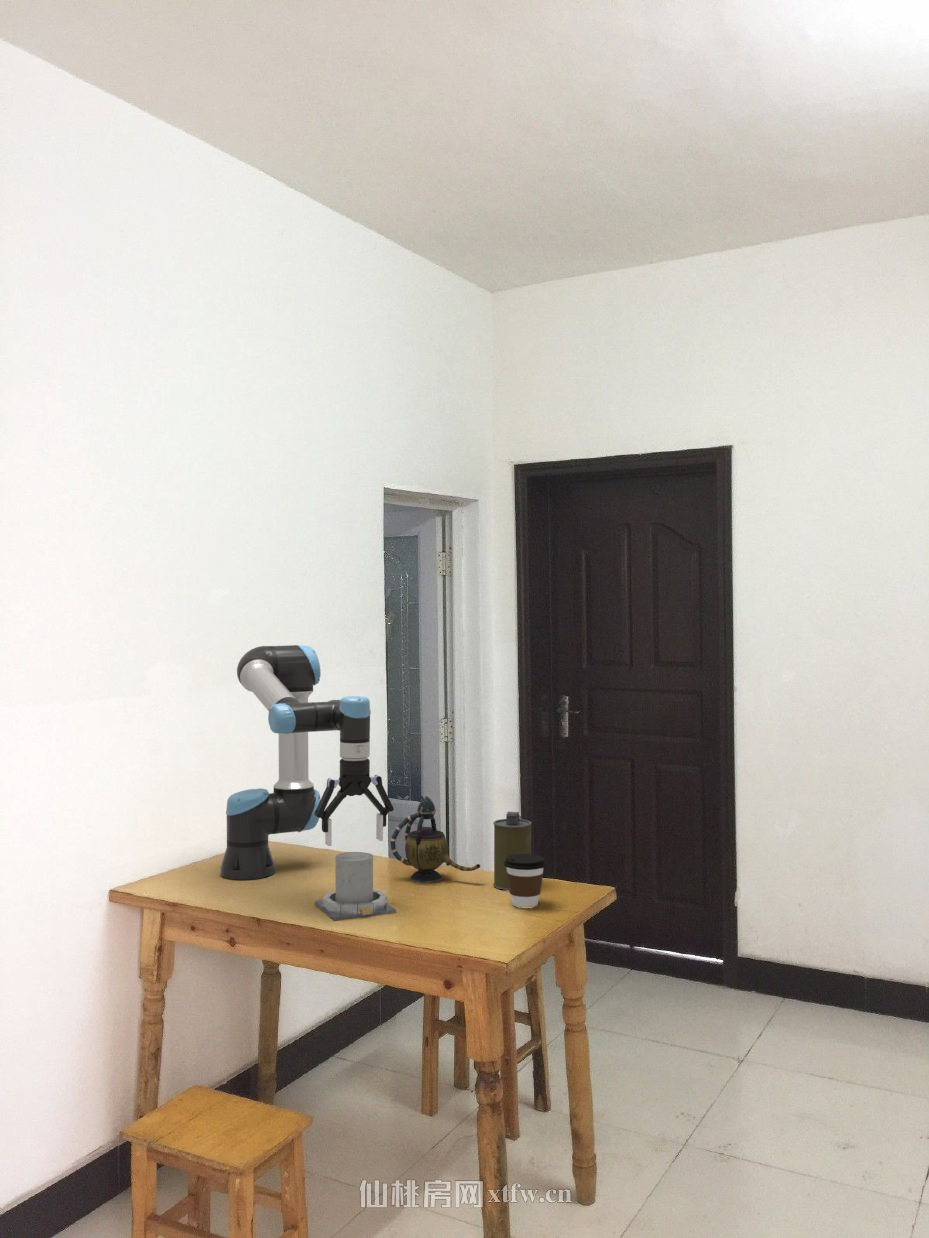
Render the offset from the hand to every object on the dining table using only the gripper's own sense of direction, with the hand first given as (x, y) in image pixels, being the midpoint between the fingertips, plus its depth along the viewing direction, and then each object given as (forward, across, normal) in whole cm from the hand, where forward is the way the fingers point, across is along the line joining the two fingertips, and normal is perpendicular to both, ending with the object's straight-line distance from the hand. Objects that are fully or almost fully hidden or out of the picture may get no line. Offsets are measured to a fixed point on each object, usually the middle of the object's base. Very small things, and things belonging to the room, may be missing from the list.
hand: (354, 842), depth 265 cm
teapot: (+17, +30, +15) cm, 38 cm away
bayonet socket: (+17, 0, -1) cm, 17 cm away
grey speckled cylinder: (+16, 0, -1) cm, 16 cm away
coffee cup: (+16, +40, -17) cm, 46 cm away
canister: (+17, +46, +1) cm, 49 cm away
